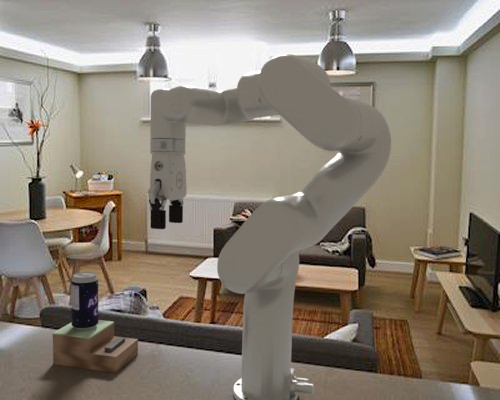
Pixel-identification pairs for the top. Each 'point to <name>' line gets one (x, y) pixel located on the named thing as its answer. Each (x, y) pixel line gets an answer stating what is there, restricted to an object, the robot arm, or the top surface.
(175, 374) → the top surface
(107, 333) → the stand
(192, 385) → the top surface
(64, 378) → the top surface
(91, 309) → the beverage can
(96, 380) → the top surface
